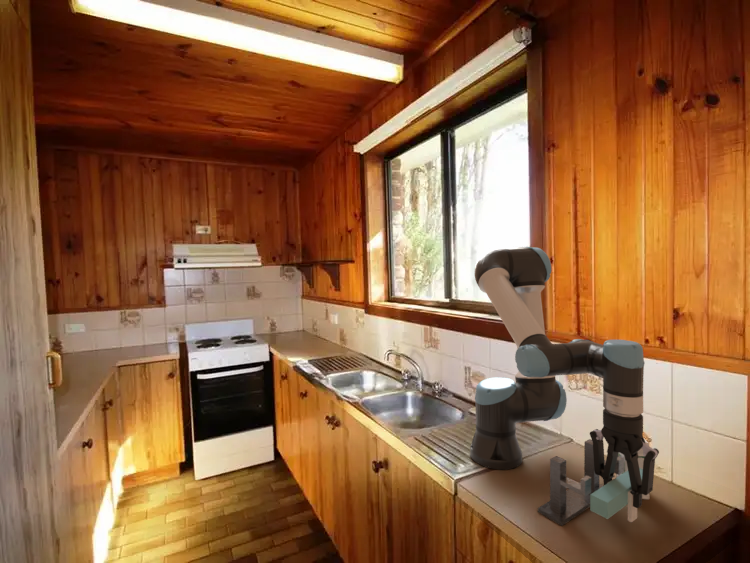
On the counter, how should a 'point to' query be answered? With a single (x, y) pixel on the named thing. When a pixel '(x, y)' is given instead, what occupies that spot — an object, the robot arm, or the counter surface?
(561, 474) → the rack
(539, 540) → the counter surface
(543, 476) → the counter surface
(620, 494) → the block
